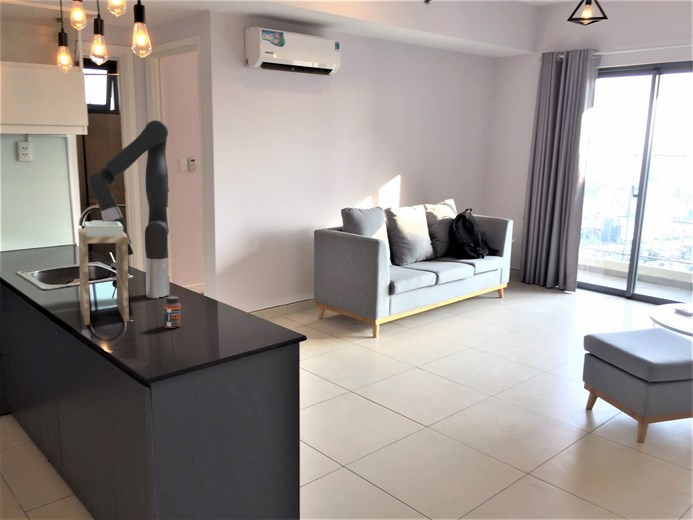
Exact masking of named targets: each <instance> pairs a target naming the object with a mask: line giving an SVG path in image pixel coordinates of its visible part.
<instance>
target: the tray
mask: <svg viewBox="0 0 693 520" xmlns="http://www.w3.org/2000/svg"><path fill="white" fill-rule="evenodd" d="M83 224H84V225H83V226H84V227H83V228H85V234H86V236H87V237H123V231H124V228H123V225H122V224H121V223H120V222H104V220H103V219H102V220H101V219H100V220H99V219H98V220H97V219H96V220H94V219H93V220H91V221H84V223H83Z"/></svg>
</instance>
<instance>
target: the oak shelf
mask: <svg viewBox="0 0 693 520" xmlns="http://www.w3.org/2000/svg"><path fill="white" fill-rule="evenodd" d="M77 230H78V233H77V234H78V255H79V257H78V261H79V262H78V263H79V290H80V291H79V293H80V294H79V295H80V311H81V315H82V318H83V323H84V325H90V324H91V323H90V322H91V321H90V319H91V318H90V315H91V314H90V287H89V285H90V281H89V251H88V249H89V247H88V244H112V243H116V247H115V269H116V270H115V271H116V273H115V274H116V275H115V276H116V308H117V309H118V312H119V314H120V316H121V317H122V319H123V322H129V320H130V317H129V315H130V314H129V313H130V312H129V309H130V307H129V306H130V305H129V255H128V237H127V235H126V234H125V233H124V232H123V237H87V236H86V234H85V227H83V228H79V227H78V229H77Z"/></svg>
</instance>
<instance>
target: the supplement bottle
mask: <svg viewBox="0 0 693 520" xmlns="http://www.w3.org/2000/svg"><path fill="white" fill-rule="evenodd" d="M181 305H182V304H181V302H179V297H178V296H175V295H169V297H166V302H164V304H163V327H164V328H165V329H167V328H175V327H178V326H180V327H181V319H182V318H181V315H182V314H181V312H182V306H181Z"/></svg>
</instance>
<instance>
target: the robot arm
mask: <svg viewBox="0 0 693 520" xmlns="http://www.w3.org/2000/svg"><path fill="white" fill-rule="evenodd" d="M168 136H169V130H168V127H167V125H166V124H165V123H164V122H163V121H161V120H158V119H157V120H155V119H154V120H151V121H148V123H147V124H146V125H145V128H143V130H142V131H141V132H140V134H139V135H138V136H137V137H136V138H135V139H134V140H132V141H131V142H130V143H129V144H128V145H126V146H125V147H124V148H122V149H121V150H120V151H119V152H118V153H116V154H115V155H114V156H113V157H112V158H110V159H109V160H108V161H107V162H106V163H105V165H104V166H103V168H102V169H100V170H99V171H98V172H94V173H91V174H90V175H89V176H88V178H87V183H88V186H89V190H90V191H91V193H92V194H93V196H94V198H95V199H96V202H97V205H98V207H99V210H100V214H101V217H102V220H103V222H120V223H121V224H122V225H123V229H125V228H127V224H126V221H125V219H124V217H123V214H122V212H121V210H120V208H119V206H118V203H117V201H116V198H115V197H114V195H113V193H111V190H110V187H109V186H111V185H112V184H113V182H115V180H116V179H117V178H118V177H120V176H121V175H122V174H123V173H124V172H126V170H128V169H129V168H130V167H131V166H132V165H133V164H134V163H135V162H136V161H137V160H138V159H140V157H141V156H142V155H143V154H144V153H146V152H147V157H146V158H147V159H146V165H145V166H146V167H145V194H146V199H147V200H146V201H147V203H148V223H147V225H146V227H145V230H144V251H145V295H146V297H147V298H149V299H160V298H159V297H164V296H166V295H169V296H170V275H169V250H168V248H169V247H168V235H169V232H170V231H169V230H170V229H169V222H168V213H167V212H168V210H167V209H168V208H167V206H168V196H169V171H168V164H167V158H166V157H167V155H166V154H167V153H166V151H167V141H168ZM123 232H124V233H125V234H126V235H127V237H128V256H131V255H133V254H134V251H133V248H132V241H131V238H130V235H129V234H128V231H127V230H123ZM114 248H116V243H114ZM164 298H165V297H164Z"/></svg>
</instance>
